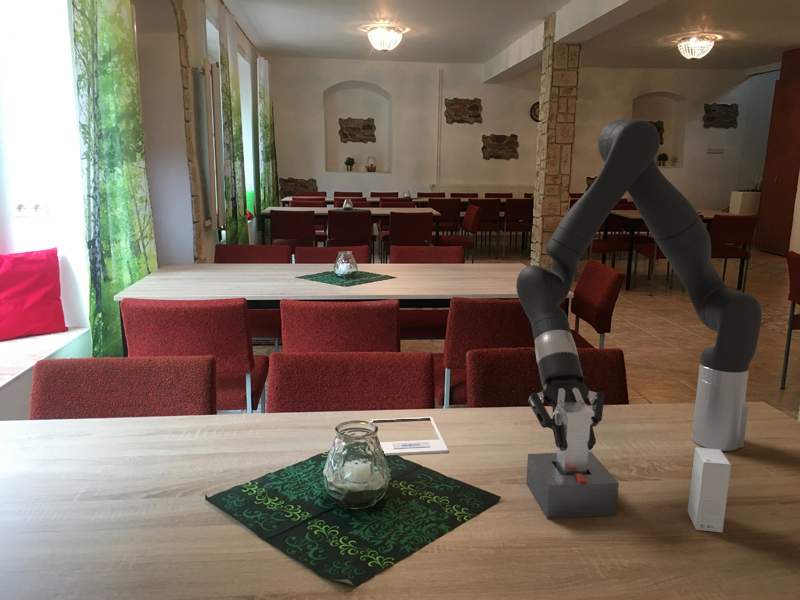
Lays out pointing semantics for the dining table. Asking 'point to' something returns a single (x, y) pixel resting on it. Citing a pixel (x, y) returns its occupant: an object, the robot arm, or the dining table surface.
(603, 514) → the block
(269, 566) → the dining table surface
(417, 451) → the photo frame
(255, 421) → the dining table surface
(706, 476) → the skincare box
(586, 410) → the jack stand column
